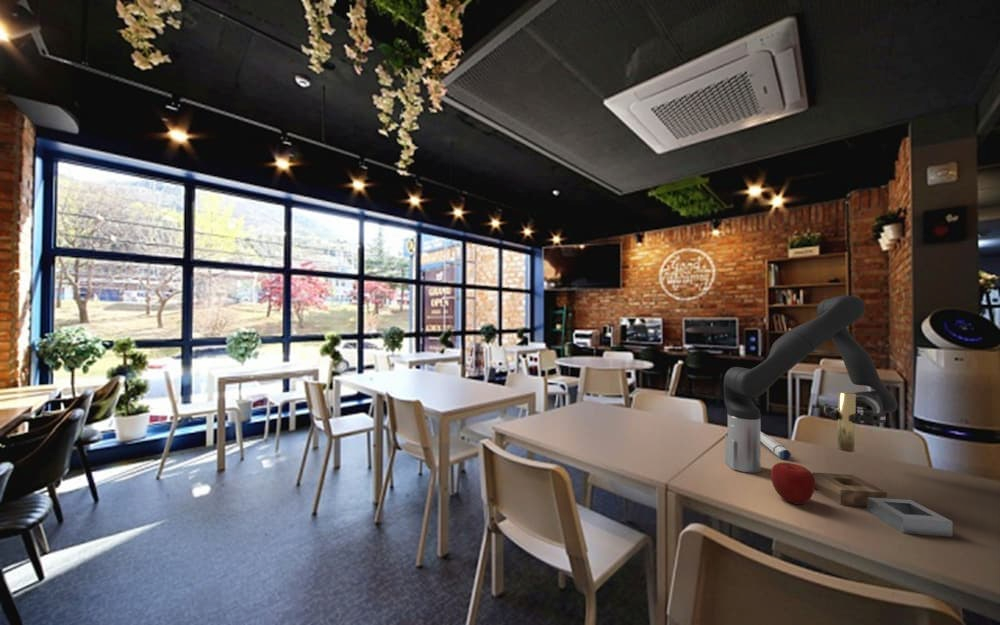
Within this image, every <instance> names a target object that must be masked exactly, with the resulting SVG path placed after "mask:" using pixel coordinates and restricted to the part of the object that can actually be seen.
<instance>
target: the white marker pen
mask: <svg viewBox="0 0 1000 625" xmlns="http://www.w3.org/2000/svg"><path fill="white" fill-rule="evenodd" d="M760 443H762V444H763V445H765V447H766V448H768V449H769V450H770V451H771V452H772V454H773V455H774V456H775V457H778V458H779V459H780V460H783V461H784V460H785V461H787V460H788V461H789V460H790V459H791V458H792V453H791V452H790V451H789V450H788V449H787V448H786V447H785V445H783V444H780V443H779V442H778V441H776V440H775V439H772V438H771V437H770V436H768V435H767V434H766V433H764V432H762V431H761V430H760Z"/></svg>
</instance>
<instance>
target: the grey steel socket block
mask: <svg viewBox="0 0 1000 625" xmlns="http://www.w3.org/2000/svg"><path fill="white" fill-rule="evenodd" d="M866 511H867V512H868V513H870V514H872V515H873V516H876V517H877V518H878V519H880V520H882V521H883V522H884V523H886V524H888V525H890V526H891V527H892V528H894V529H896V530H897V531H899V532H900V533H902V534H910V535H924V536H938V537H950V538H951V537H952V538H953V530H954V529H953V527H954V525H953V521H952V520H951V519H948V518H947V517H945V516H943V515H941V514H939V513H937V512H936V511H933V510H931V509H930V508H927V507H926V506H923V505H922V504H919V503H918V502H915V501H914V500H912V499H901V498H888V497H887V498H871V497H867V506H866Z"/></svg>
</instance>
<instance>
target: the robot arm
mask: <svg viewBox="0 0 1000 625" xmlns="http://www.w3.org/2000/svg"><path fill="white" fill-rule="evenodd" d="M865 311H866V305H865V302H864V301H863V300H862V299H861V298H860V297H858V296H855V295H840V296H835V297H832V298H827V299H823V300H822V301H820V303H818V305H817V309H816V312H817V315H818V316H817V317H815V318H813V319H811V320H809V321H805V322H804V323H801V324H800V325H797V326H796V327H793V328H791V329H790V330H789V331H787V332H785V333H784V334H783V335H781V336H780V337H778V339H776V340H775V341H774V342H773V344H772V345H771V347H770V350H769V353H768V355H767V358H766V359H764V360H763V361H762V362H760V363H759V364H758V365H756V366H754V367H752V368H745V367H740V366H733V367H730V368H729V369H728V370H727V371H726V372H725V374H724V377H723V394H724V395H723V396H724V405H725V407H726V410H727V435H725V436H724V461H725V462H724V463H725V464H726V465H727V466H728V467H730V469H731V470H734V471H739V472H742V473H743V472H744V473H750V474H754V473H760V472H761V466H762V463H761V460H762V458H761V457H762V456H761V454H762V453H761V452H762V451H761V445H762V444H761V441H760V431H761V410H760V408H759V407H758V406H756V405H755V404H754V402H753V400H752V399H754V398H757V397H760V396H761V395H764V393H765V392H766V391H768V390H769V388H770V387H772V386H773V385H774V384H775V383H776V381H778V380H779V379H780V378H781V377H782V376H783V375H784V374H785V373H787V372H788V371H790V370H791V369H793V367H795V365H797V364H799V363H800V362H802V361H803V360H804V359H805V358H806V357H808V356H809V355H811V354H812V353H813V352H815V351H816V350H817V349H818V348H820V347H821V346H822V345H823V344H825V343H826V342H827V341H829V340H830V339H831V340H832V342H833V343H834V345H835V347H836V349H837V351H838V352H839V354H840V357H841V359H842V361H843V363H844V366H845V369H846V371H847V374H848V377H849V380H850V382H851V384H853V385H855V386H864V387H869V388H871V389H873V390H868V391H866V390H865V391H857V392H854V394H856V414H854V415H852V423H855V425H856V424H857V425H865V424H869V425H871V424H872V425H873V424H883V423H886V421H887V420H886V413H887V414H889V413H894V412H896V410H897V409H898V402H897V399H896V398H895V396H894V395H893V394H892V392H890V390H889V389H888V388H887V387H886V385H885V384H884V382H883V381H882V379H881V378H880V375H879V373H878V371H877V369H876V368H877V367H876V366H875V365H876V364H875V363H874V361H873V359H872V357H871V355H870V354H869V353H868V352H867V351H866V349H865V348H864V347H863V346H862V345H861V344H859V343H858V341H856V339H855V338H854V337H853V336H852V334H851V333H850V332H849V330H848V327H849V326H851V325H852V324H854V323H856V322H857V321H858V320H860V319H861V318H862V317H863V315H864V314H865ZM823 413H824V414H825V415H826V416H827V417H829V418H832V420H834V421H836V420H837V421H838V405H835V407H834V406H833V405H830V404H829V403H824V404H823Z"/></svg>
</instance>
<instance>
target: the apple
mask: <svg viewBox="0 0 1000 625" xmlns="http://www.w3.org/2000/svg"><path fill="white" fill-rule="evenodd" d="M770 477H771V478H770V479H771V482H772V486H773V488H774V489H775V491H776V493H777V495H779V497H781V498H782V499H783V500H785V501H787V502H789V503H791V504H795V505H804V504H806V503H807V502H809V500H810V499H812V496H813V494H814V491H815V489H816V488H815V480H814V476H813V475H812V471H810V470H809V469H808V468H806V467H804V466H802V465H799V464H795V463H792V462H778V463H775V464H774V465H773V467H772V468H771V471H770Z"/></svg>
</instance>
